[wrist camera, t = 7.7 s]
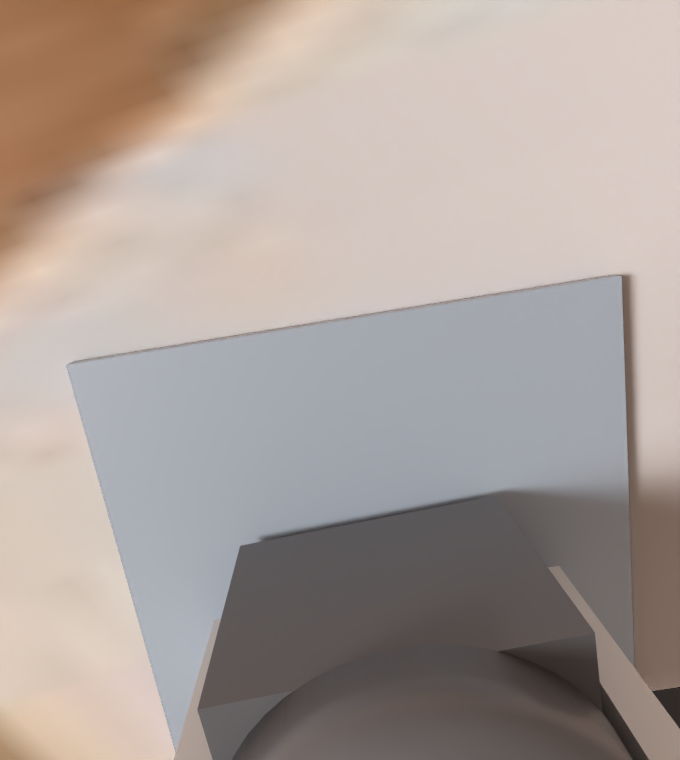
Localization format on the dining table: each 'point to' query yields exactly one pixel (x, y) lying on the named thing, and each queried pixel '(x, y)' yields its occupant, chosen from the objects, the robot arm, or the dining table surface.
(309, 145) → the dining table surface
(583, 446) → the shaft board
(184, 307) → the dining table surface
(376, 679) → the knob
